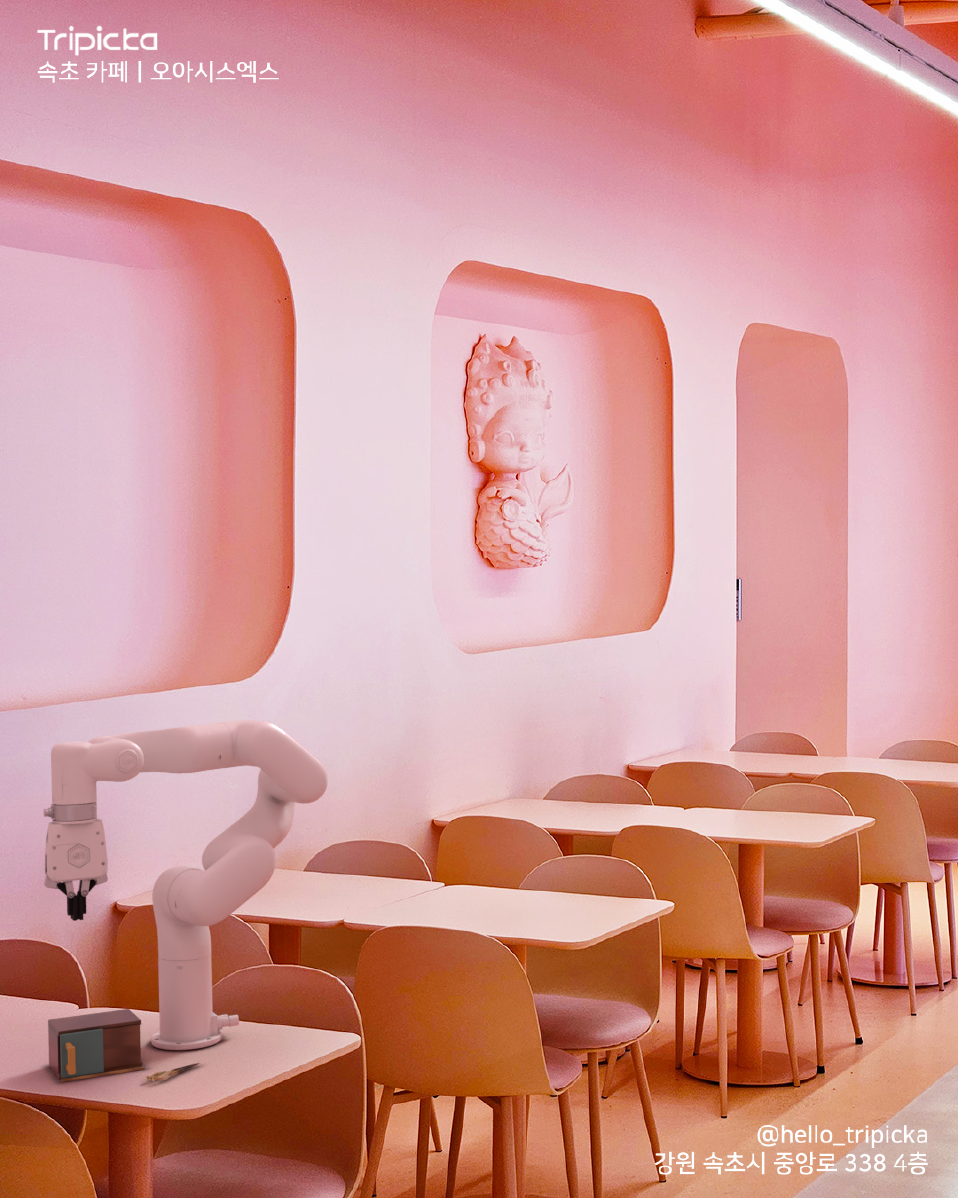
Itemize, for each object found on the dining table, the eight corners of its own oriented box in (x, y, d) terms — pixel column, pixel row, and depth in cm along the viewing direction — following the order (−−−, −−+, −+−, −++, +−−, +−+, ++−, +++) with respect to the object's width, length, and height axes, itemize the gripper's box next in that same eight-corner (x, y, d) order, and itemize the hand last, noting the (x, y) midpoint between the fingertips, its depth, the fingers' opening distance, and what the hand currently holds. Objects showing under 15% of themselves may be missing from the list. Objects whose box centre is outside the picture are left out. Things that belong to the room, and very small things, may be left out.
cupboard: (129, 1054, 271) (128, 1008, 271) (144, 1069, 261) (143, 1022, 261) (49, 1066, 265) (48, 1019, 265) (61, 1082, 255) (60, 1034, 255)
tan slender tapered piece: (196, 1065, 263) (196, 1057, 263) (207, 1067, 262) (207, 1059, 262) (144, 1083, 253) (143, 1075, 253) (155, 1086, 252) (154, 1077, 252)
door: (103, 1071, 259) (102, 1028, 259) (108, 1077, 256) (107, 1034, 256) (61, 1077, 256) (60, 1034, 256) (66, 1084, 252) (65, 1040, 253)
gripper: (34, 819, 259) (36, 927, 259) (122, 812, 266) (125, 918, 266) (26, 814, 266) (28, 920, 266) (112, 808, 273) (115, 911, 272)
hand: (76, 919), depth 266 cm, fingers closed
